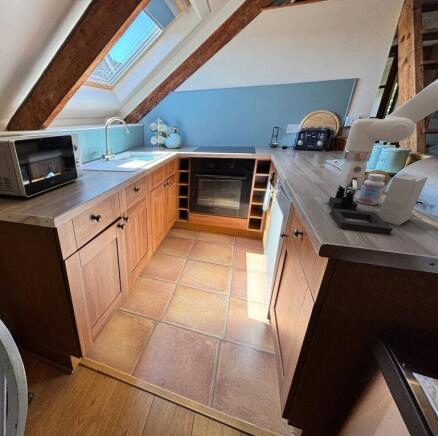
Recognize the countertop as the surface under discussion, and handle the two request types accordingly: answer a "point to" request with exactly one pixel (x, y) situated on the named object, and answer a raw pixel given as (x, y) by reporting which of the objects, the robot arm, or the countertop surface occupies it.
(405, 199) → the cosmetic box
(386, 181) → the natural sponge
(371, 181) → the pill bottle
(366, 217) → the frame
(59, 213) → the countertop surface
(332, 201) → the black pad
